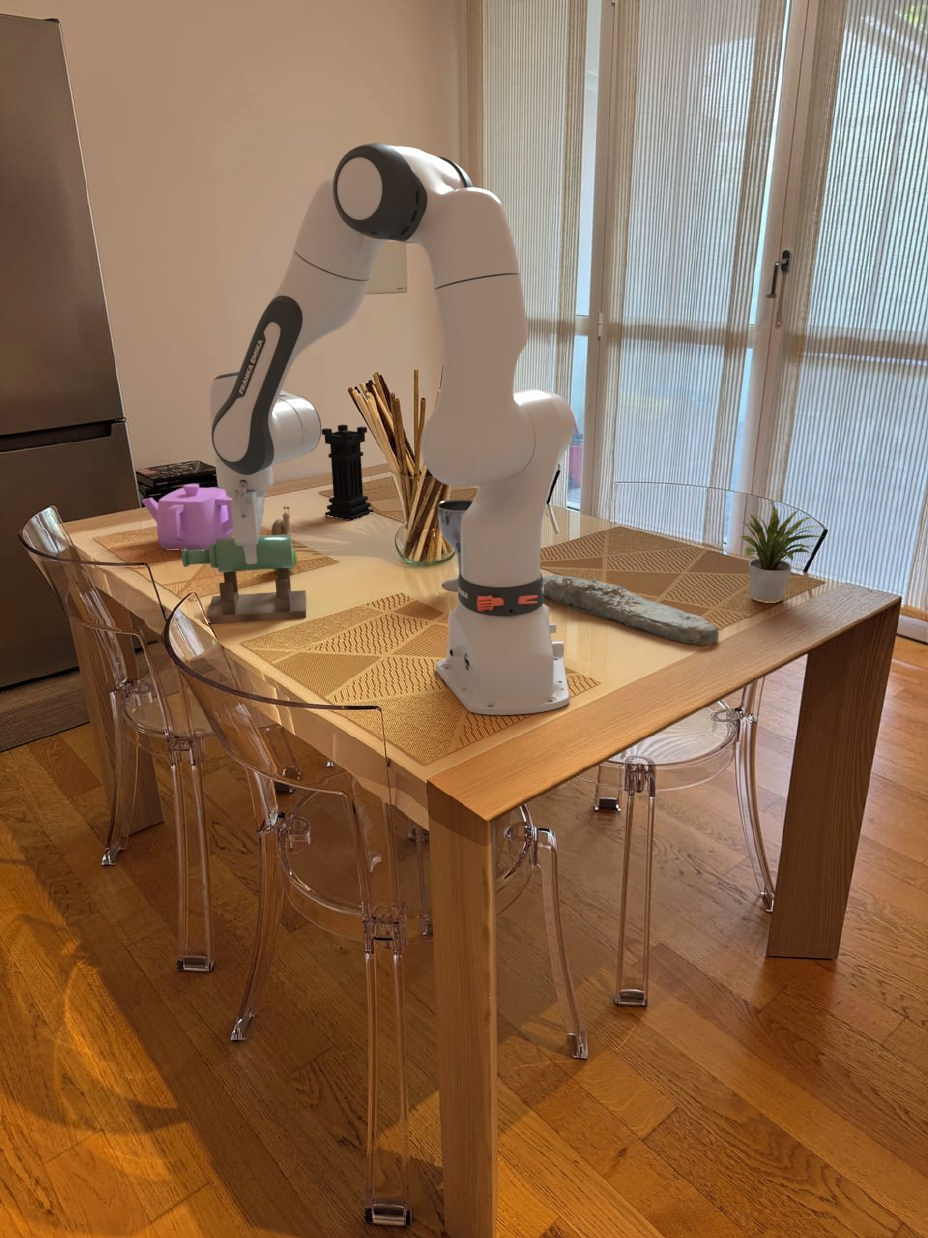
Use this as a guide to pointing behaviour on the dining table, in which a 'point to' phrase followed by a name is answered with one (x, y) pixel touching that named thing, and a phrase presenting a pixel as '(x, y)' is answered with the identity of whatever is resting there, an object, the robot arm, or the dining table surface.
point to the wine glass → (452, 529)
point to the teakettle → (192, 517)
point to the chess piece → (346, 473)
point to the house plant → (772, 556)
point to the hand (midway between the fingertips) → (253, 556)
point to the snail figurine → (283, 532)
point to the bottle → (243, 554)
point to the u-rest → (256, 601)
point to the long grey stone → (629, 609)
